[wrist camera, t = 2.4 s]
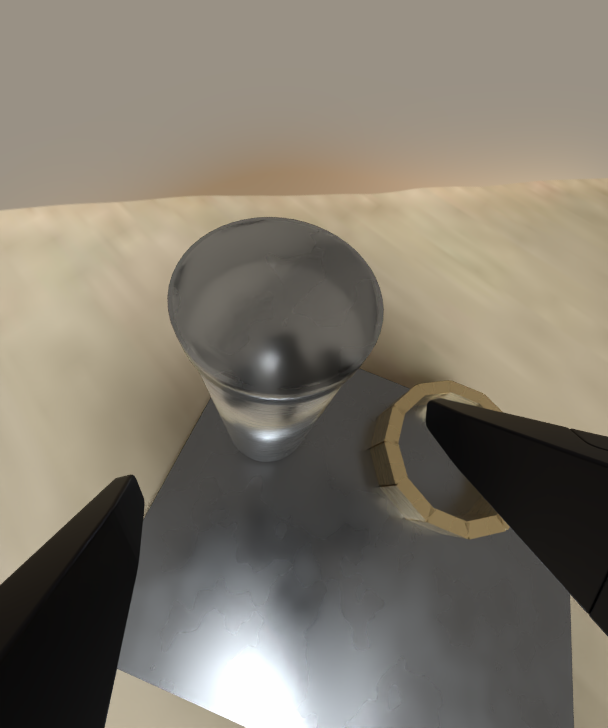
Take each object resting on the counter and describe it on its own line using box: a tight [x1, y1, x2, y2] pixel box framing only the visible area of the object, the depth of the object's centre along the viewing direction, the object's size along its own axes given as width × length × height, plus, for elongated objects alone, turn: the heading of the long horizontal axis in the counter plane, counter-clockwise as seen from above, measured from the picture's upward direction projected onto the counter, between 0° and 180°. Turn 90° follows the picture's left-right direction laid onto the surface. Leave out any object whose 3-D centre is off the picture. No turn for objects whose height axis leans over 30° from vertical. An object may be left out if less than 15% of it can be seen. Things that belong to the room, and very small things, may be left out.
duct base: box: [117, 369, 574, 728], centre depth 16 cm, size 19×24×3 cm
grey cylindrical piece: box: [167, 217, 384, 462], centre depth 13 cm, size 5×5×13 cm
